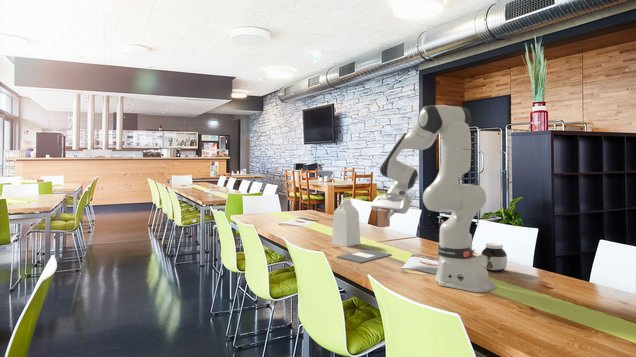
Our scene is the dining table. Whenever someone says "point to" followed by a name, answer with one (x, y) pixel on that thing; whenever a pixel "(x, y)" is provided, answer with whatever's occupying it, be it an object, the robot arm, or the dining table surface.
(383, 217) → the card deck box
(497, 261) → the spread jar
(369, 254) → the charcoal mat
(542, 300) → the dining table surface
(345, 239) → the milk
